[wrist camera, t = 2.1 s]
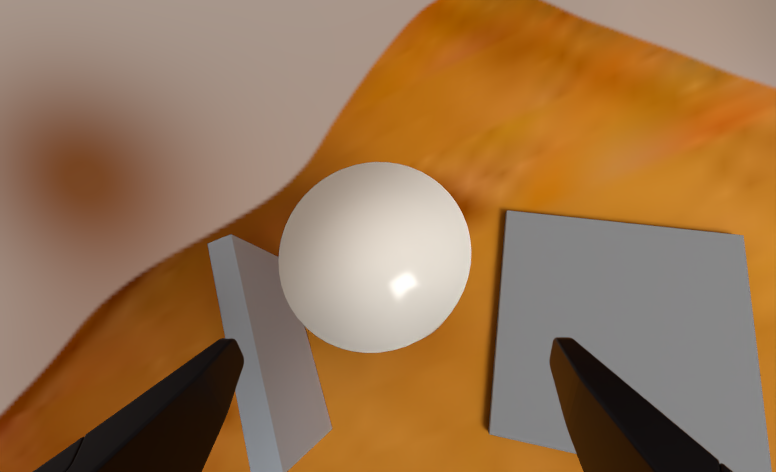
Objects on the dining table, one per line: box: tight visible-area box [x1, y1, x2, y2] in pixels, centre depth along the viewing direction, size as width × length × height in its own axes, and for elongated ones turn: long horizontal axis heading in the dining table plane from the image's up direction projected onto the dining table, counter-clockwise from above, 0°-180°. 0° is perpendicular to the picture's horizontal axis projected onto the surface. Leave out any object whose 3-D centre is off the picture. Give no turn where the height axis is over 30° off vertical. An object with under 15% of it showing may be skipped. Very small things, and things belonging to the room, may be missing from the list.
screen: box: [208, 234, 332, 472], centre depth 16 cm, size 10×1×6 cm, turn 20°
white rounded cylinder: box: [278, 162, 471, 353], centre depth 13 cm, size 5×5×12 cm
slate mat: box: [488, 210, 772, 472], centre depth 17 cm, size 12×12×1 cm
